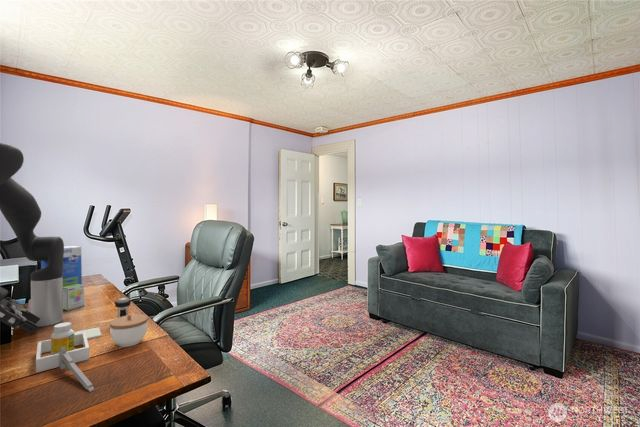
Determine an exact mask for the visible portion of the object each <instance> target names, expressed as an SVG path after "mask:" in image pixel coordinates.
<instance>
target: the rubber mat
mask: <svg viewBox="0 0 640 427" xmlns="http://www.w3.org/2000/svg"><path fill="white" fill-rule="evenodd" d="M84 332H85V333H86V337H87V340H91V339H95V338H99V337H102V332H101V330H100V326H98V327H94V328H93V327H92V328H88V329H82V330H78V331H74V334H79V333H84Z"/></svg>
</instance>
